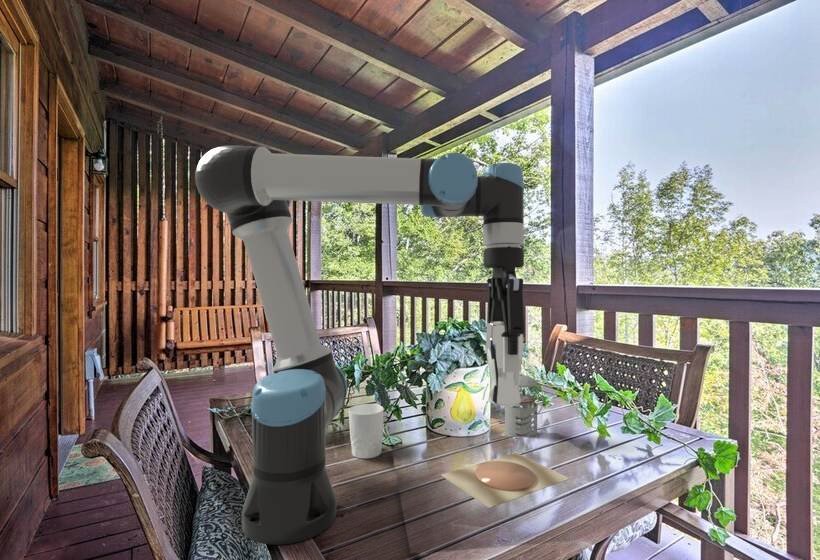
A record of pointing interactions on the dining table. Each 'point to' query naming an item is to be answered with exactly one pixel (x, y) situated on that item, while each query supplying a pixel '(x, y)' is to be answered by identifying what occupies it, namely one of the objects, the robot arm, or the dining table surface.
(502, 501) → the beige mat with oval
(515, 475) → the coaster
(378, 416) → the white cup
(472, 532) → the dining table surface
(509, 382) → the beer glass
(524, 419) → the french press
